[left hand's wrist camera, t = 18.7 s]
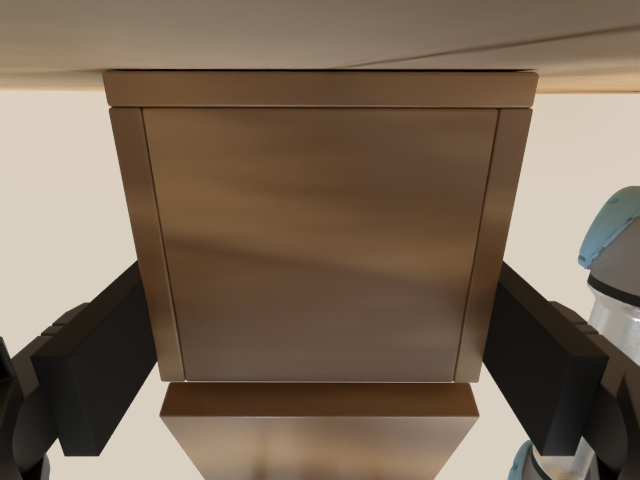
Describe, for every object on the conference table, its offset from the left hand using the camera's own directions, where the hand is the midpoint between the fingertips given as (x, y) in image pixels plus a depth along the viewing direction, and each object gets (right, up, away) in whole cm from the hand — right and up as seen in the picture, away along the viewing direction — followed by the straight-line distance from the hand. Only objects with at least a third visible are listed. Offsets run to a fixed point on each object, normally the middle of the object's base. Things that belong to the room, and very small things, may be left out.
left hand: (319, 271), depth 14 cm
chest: (0, +7, +1) cm, 8 cm away
